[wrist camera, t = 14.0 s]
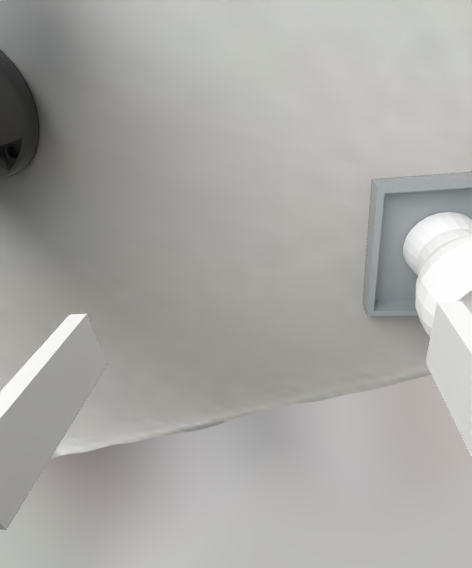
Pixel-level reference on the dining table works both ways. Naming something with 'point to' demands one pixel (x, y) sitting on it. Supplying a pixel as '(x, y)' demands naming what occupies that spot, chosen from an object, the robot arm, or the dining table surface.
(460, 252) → the cup
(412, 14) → the dining table surface
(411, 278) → the tray
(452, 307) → the robot arm
